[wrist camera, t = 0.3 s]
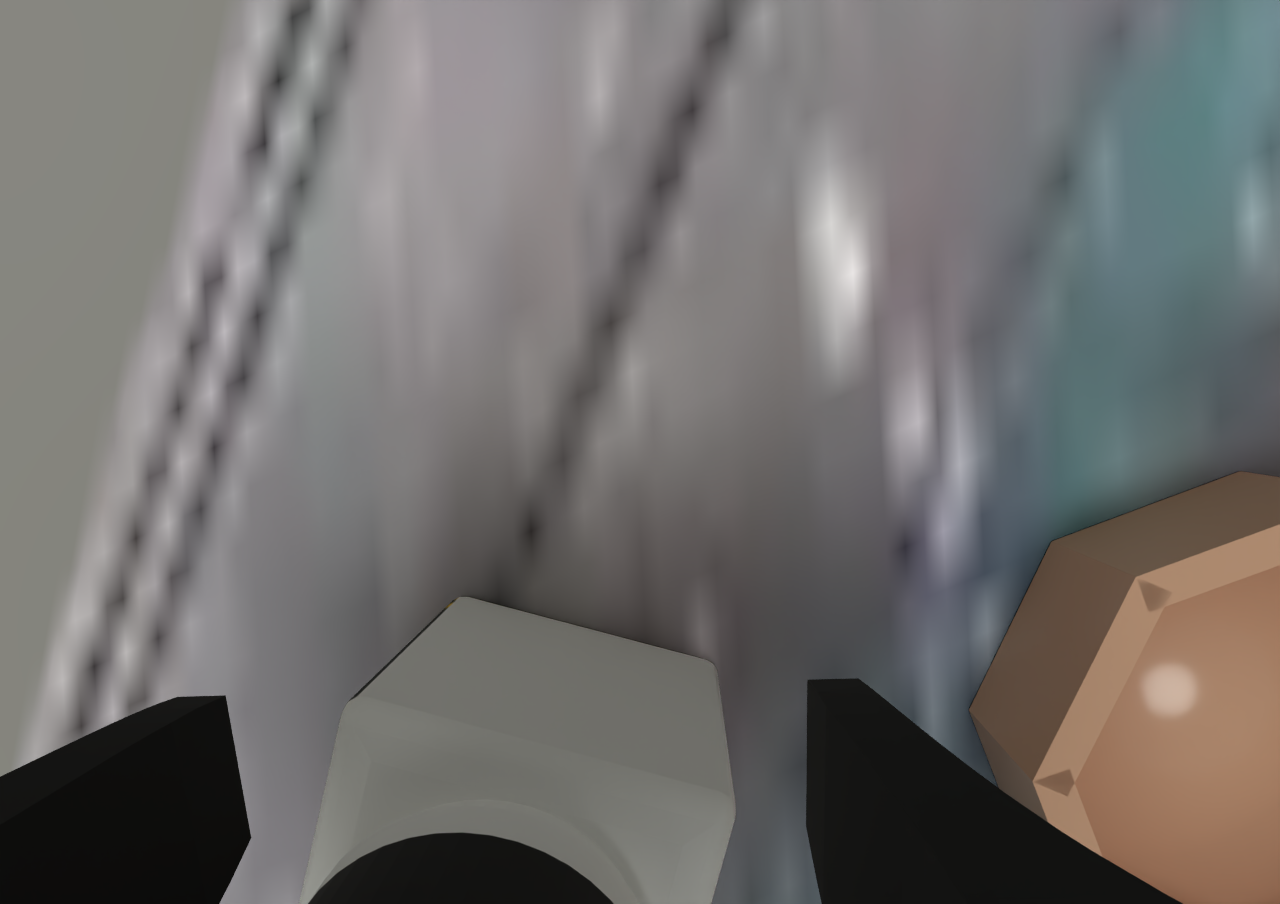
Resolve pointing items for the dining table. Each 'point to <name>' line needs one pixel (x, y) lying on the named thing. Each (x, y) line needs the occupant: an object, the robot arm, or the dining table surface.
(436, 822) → the medicine bottle
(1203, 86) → the dining table surface
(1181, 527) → the bowl
